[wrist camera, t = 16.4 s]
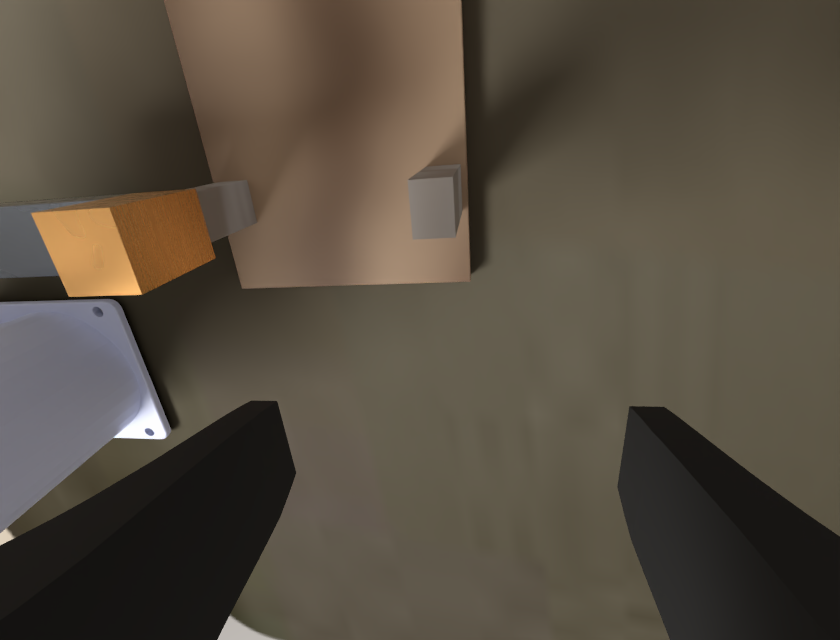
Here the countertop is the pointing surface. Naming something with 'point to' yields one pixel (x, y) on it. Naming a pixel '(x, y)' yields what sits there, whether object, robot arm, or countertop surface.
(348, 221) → the brown stand with pegs
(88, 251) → the gray and orange bar
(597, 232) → the countertop surface
